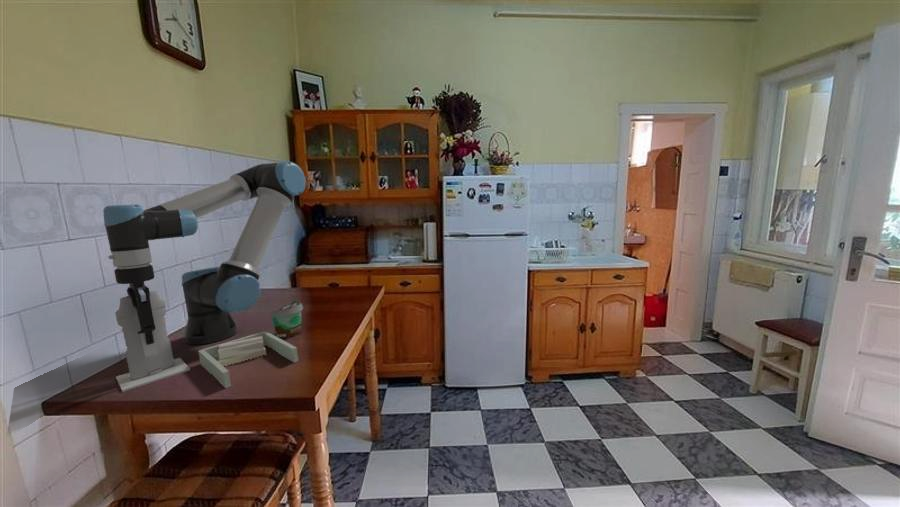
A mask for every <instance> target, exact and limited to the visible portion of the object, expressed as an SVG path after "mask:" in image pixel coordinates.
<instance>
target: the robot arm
mask: <svg viewBox="0 0 900 507" xmlns="http://www.w3.org/2000/svg"><path fill="white" fill-rule="evenodd" d="M306 185H307V180H306V176H305V173H304V171H303V170H302V168H301V167H300V166H299V165H297V164H296V163H295V162H292V161H284V160H282V161H278V162H269V163H260V164H257V165H254V166H252V167H250V168H247V169H245V170H242V171H240V172H237V173H234V174H232V175H231V176H230V177H229V179H227V180H224V181H221V182H219V183H216V184H213V185H211V186H208V187H205V188H202V189H200V190H197V191H193V192H190V193H188V194H186V195H183V196H181V197H177V198H175V199H172V200H170V201H166V202H164V203H161V204H158V205H156V206H152V207H149V208H147V209H143V206H142V205H140V204H137V203H136V204H121V205H120V204H119V205H118V204H117V205H116V204H115V205H114V204H113V205H107V206H105V207H104V208H103V222H104V226H105V231H106V236H107V240H108V244H109V249H110V253H111V255H108V256H107V257H108V259H109V260H112V265H113V267H115V269H114V272H113V273H114V277H115V282H116V283H117V284H120V285H129V287H127V289H126V293H127V296H130V297H131V299H132V304H133V306H134V307H136V310H137V314H138V319H139V323H140V327H141V331H139V332H138V334H141V338H142V344H143V349H144V354H145V357H149V356H152V355H156V354H159V353H158V347H157V342H156V337H155V331H154V330H155V328H156V327H155V324H154V319H153V314H152V308H151V302H150V288H149V287H148V286H147V285H145V282H147V281H151V280H153V279H154V278H155V272H154V266H153V265H152V264H151V263H152V262H153V259H152V258H153V257H152V254H151V248H150V244H149V241H156V240H165V239H175V238H181V237H182V238H184V237H188V236H194V235H195V234H196V233H197V231H198V228H199V222H198V218H200V217H202V216H205V215H208V214H210V213H212V212H215V211H216V210H219V209H222V208H224V207H227V206H229V205H232V204H234V203H236V202H239V201H249V200H252V199H254V198H257V200H256V201H255V204H254V206H253V209H252V210H251V213H250V215H249V217H248V218H247V221H246V223H245V226H244V228H243V230H242V232H241V234H240V235H239V236H240V237H239V238H238V240H237V242H236V245H235V247H234V248H233V250H232V253H231V255H230V258H229V259H228V260H226V261H223V262H221V263H220V266H214V267H207V268H202V269H198V270H197V269H196V270H192V271H191V270H190V271H187V272H184V273H183V274H182V275H181V286H182V291H183V297H184V301H185V302H184V303H185V307H186V313H187V322H186V326H185V331H184V341H185V344H188V345H205V344H212V343H215V342H220V341H223V340H226V339H229V338H231V337H233V336H235V335H236V334H237V333H238V332H239V327H238V323H237V322H236V320H235V318H234V316H233V315H232V313H239V312H240V313H241V312H244V311H246V310H248V309H250V308H252V307H253V306H254V305H255V304H256V303H257V301H258V300H259V298H260V295H261V291H262V290H261V289H262V288H261V287H260V285H261V284H260V282H259V278H260V276H261V275H260V273H259V270H258V268H259V266H260V264H261V261H262V260H263V256H264V255H265V253H266V251H267V248H268V246H269V243H270V240H271V239H272V237H273V234H274V232H275V230H276V227H277V225H278V223H279V220H280V218H281V216H282V213H283V211H284V209H285V208H287V207H289V206H291V204H292V202H293V200H294V198H295V196H299V195H300V194H302V193H303V192H305V191H304V190H305V188H306Z"/></svg>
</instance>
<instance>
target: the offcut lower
mask: <svg viewBox="0 0 900 507" xmlns="http://www.w3.org/2000/svg"><path fill="white" fill-rule="evenodd" d="M265 347H266V346H264V350H262V351H257V352H252V353H248V354H243V355H238V356H234V357H229V358H225V359H220V360H219V354H216V355H215V358H216V361H218V362H219V363H220V364H221V365H222V366H223V367H224V366H225V367H228V365H229V366H232V365H235V363H236V364H239V363H242V361H243V362H246V361H245V360H247V361H249V360H248V359H250V360H253V359H252V358H254V359H256V358H255V357H257V358H260V357H259V356H261V357H263V356H262V355H265V356H267V349H266V348H265ZM231 364H232V365H231Z"/></svg>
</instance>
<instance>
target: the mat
mask: <svg viewBox="0 0 900 507" xmlns="http://www.w3.org/2000/svg"><path fill="white" fill-rule="evenodd" d="M173 360H174V366H172V367H170V368H167V369H165V370H162V371H161V372H159V373H157V374H153V375H149V376H146V377H143V378H140V379H137V380H131V377H130V372H129V371H128V372H127V373H123V374H119V375H116V376H115V378H116V380H117V383H118V385H119V388H120V389H121V392H122V393H123V392H126V391H130V390H133V389H137V388H139V387H143V386H145V385H148V384H152V383H154V382H155V383H156V382H158V381H160V380H164V379H167V378H170V377H173V376H176V375H181V374H183V373H186V372H190V371H191V368H190V367H189V366H188V365H187V364H186V363H185V362H184V360H183V359H182V358H181V357H177V358H173Z"/></svg>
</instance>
